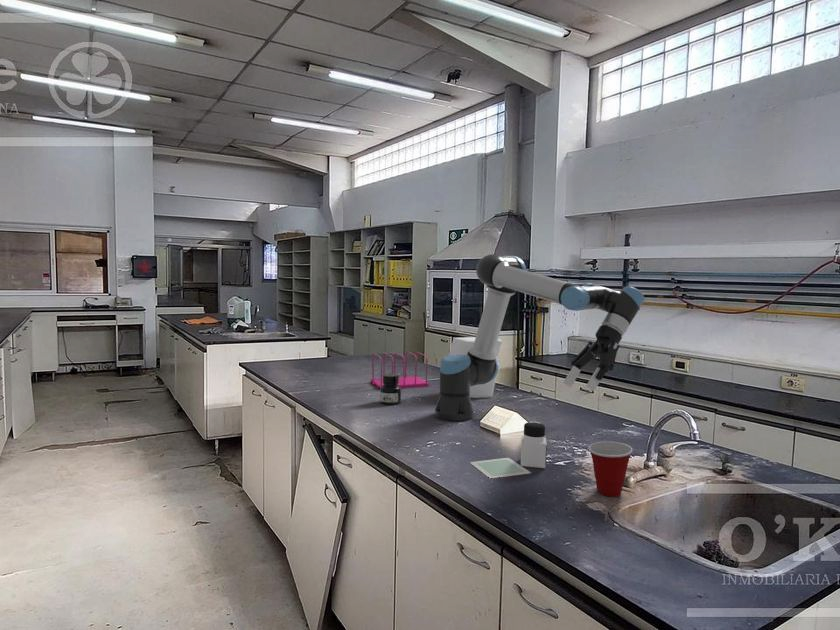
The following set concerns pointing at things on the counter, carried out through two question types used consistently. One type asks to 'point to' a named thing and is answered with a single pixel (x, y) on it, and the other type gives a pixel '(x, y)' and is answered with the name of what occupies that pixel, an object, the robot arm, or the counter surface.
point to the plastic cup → (610, 466)
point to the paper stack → (462, 348)
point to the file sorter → (404, 380)
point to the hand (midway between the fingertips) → (578, 386)
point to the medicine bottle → (533, 445)
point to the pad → (499, 468)
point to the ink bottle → (390, 389)
